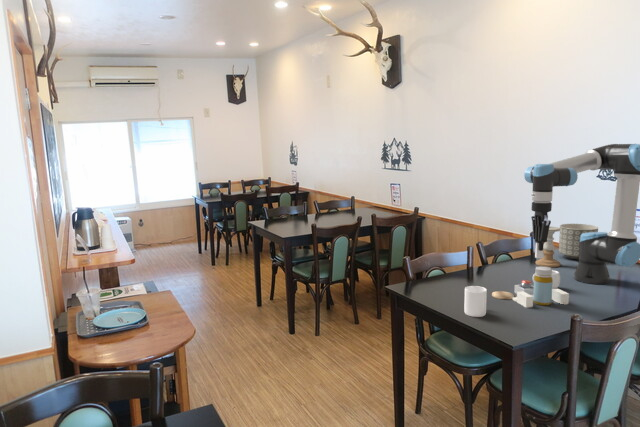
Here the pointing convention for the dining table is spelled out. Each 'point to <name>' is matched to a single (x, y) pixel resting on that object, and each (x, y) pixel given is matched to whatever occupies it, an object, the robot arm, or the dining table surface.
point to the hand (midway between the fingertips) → (538, 257)
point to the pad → (502, 295)
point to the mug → (554, 279)
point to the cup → (475, 301)
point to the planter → (573, 238)
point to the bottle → (543, 286)
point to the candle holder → (549, 251)
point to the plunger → (526, 284)
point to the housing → (526, 296)
